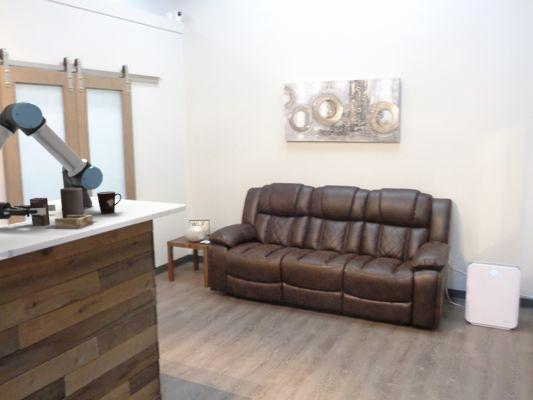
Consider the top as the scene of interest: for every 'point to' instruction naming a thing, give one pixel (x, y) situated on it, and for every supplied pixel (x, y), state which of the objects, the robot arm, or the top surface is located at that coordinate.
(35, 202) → the box
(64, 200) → the pillar candle
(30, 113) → the robot arm
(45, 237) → the top surface
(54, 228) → the mat
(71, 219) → the wooden tray
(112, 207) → the coffee mug
